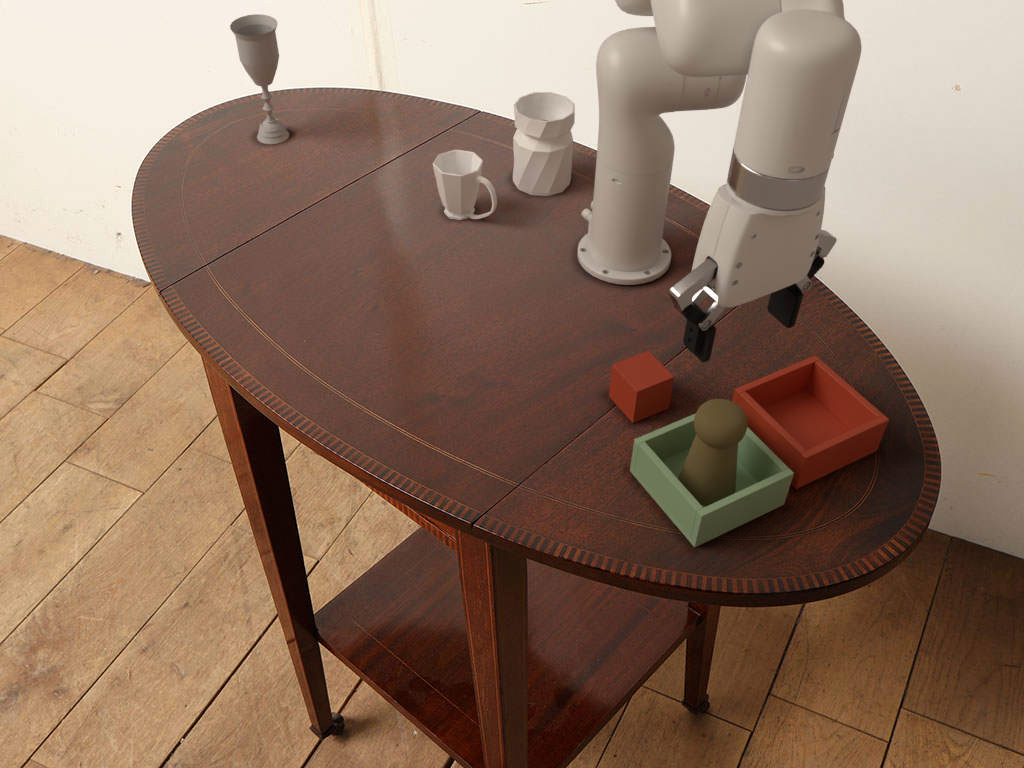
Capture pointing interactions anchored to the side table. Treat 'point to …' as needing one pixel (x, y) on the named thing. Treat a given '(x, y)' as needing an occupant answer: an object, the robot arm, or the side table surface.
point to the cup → (461, 183)
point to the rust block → (641, 386)
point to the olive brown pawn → (714, 451)
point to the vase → (543, 143)
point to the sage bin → (658, 473)
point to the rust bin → (811, 419)
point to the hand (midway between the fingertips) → (738, 335)
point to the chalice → (261, 66)
